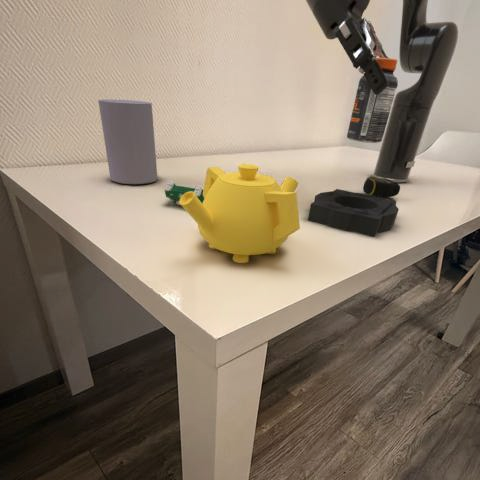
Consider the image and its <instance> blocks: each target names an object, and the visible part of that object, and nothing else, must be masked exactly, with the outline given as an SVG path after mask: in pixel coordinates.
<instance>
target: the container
mask: <svg viewBox="0 0 480 480" xmlns="http://www.w3.org/2000/svg"><path fill="white" fill-rule="evenodd" d="M97 101H98V108H99V114H100V121H101V127H102V134H103V139H104V140H103V141H104V146H105V147H104V148H105V153H106V158H107V159H106V160H107V164H108V172H109V178H110V180H111V181H112V182H115V183H117V184H120V185H128V186H142V185H143V186H144V185H150V184H153V183H155V182H156V181H157V180H158V168H157V154H156V142H155V141H156V140H155V129H154V115H153V103H152V102H150V101H142V100H129V99H110V98H109V99H98V100H97Z"/></svg>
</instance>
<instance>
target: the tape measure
mask: <svg viewBox="0 0 480 480" xmlns="http://www.w3.org/2000/svg"><path fill="white" fill-rule="evenodd" d="M400 191H401V185H400V184H399V183H398V182H393V181H390V180H387V179H384V178H378V177H373V176H369V177H367V178H366V179H365V180H364V183H363V186H362V192H364V194H367V195H372V196H376V197H379V198H384V199H388V198H392V197H396V196H398V195H399V194H400Z"/></svg>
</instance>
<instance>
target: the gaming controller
mask: <svg viewBox="0 0 480 480" xmlns="http://www.w3.org/2000/svg"><path fill="white" fill-rule="evenodd" d="M203 190H204V188H202V186H201V184H199V183H198V184H196V185H195V187H194V188H193V187H189V186H182V185H177V184H176V183H174V180H172V179H170V180H168V182H167V183H166V185H165V187H164V196H165V197H166V198H168V199H169V200H172V201H175V204H176V205H177V206H182V205H181V204H180V203H179V201H180V198H181V197H182V196H183V195H184V194H185V193H187V192H189V191H193V192H194V193H195V195H196V196H197V197H198V199H199V200H200V201H201V203H203V201H204V196H203Z"/></svg>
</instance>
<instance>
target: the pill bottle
mask: <svg viewBox="0 0 480 480" xmlns="http://www.w3.org/2000/svg"><path fill="white" fill-rule="evenodd" d="M376 58H377V61H376V62H378V63H379V65H380V67H381V69H382V70H383V72H384V74H385V76H386V78H387V80H388V82H389V85H388V87H387V88H385V89H384V90H383V91H382V92H381V93H380V94H378V95H376V94H374V93H373V91H372V89H371V87H370V85H369V84H368V82H367V80H366V78H365V76H364V75H362V76H361V77H360V79H359V81H358V85H357V89H356V94H355V98H354V102H353V108H352V112H351V116H350V120H349V125H348V129H347V134H346V138H347V140H349V141H353V142H356V143H357V142H358V143H365V144H379V143H382V142H383V138H384V135H385V131H386V128H387V124H388V120H389V117H390V113H391V109H392V106H393V102H394V99H395V96H396V91H397V88H398V86H397V84H398V83H399V80H398V77H396V76H395V75H394V72H395V71H396V68H397V64H398V59H397V58H390V57H388V58H379V57H376ZM376 62H374V63H376Z"/></svg>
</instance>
